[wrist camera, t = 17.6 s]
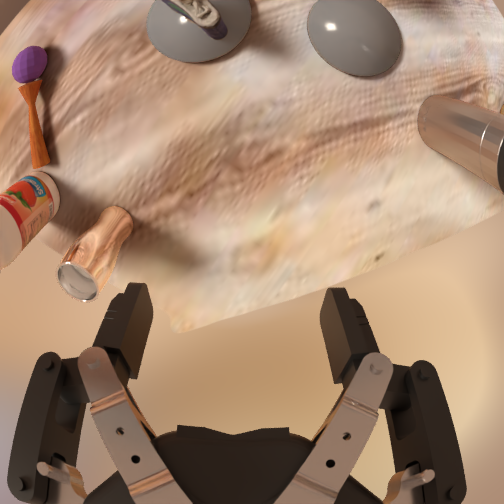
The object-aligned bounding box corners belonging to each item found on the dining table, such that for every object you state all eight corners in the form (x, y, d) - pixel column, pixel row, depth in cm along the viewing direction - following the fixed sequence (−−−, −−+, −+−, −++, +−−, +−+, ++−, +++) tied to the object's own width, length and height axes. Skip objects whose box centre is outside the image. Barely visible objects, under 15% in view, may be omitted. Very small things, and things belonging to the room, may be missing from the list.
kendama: (19, 172, 30) (5, 56, 18) (43, 157, 35) (32, 49, 22) (39, 172, 30) (25, 44, 17) (64, 156, 34) (54, 39, 22)
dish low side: (253, -22, 21) (253, -25, 20) (248, 62, 28) (248, 61, 27) (152, -15, 20) (150, -17, 19) (148, 67, 28) (145, 67, 27)
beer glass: (113, 194, 38) (65, 250, 26) (144, 223, 41) (109, 288, 29) (91, 220, 41) (47, 278, 28) (120, 247, 44) (86, 310, 32)
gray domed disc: (397, 8, 22) (401, 7, 21) (393, 85, 29) (397, 85, 28) (308, -17, 21) (310, -19, 20) (304, 66, 29) (306, 66, 28)
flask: (165, 6, 22) (136, -17, 13) (182, -9, 21) (159, -38, 12) (217, 44, 26) (206, 29, 17) (235, 29, 25) (231, 8, 16)
